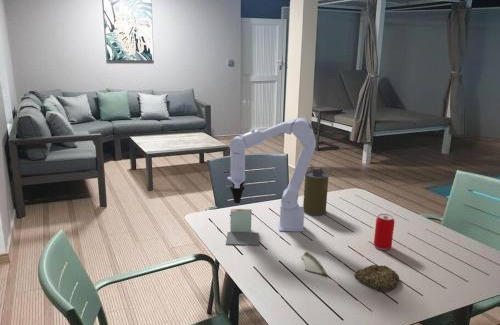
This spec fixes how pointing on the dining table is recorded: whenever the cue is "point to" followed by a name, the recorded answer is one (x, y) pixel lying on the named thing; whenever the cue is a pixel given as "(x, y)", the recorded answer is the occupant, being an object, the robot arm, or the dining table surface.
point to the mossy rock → (378, 277)
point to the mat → (242, 238)
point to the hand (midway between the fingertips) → (237, 199)
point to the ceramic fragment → (313, 264)
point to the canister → (315, 192)
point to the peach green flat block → (240, 220)
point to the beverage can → (384, 231)
